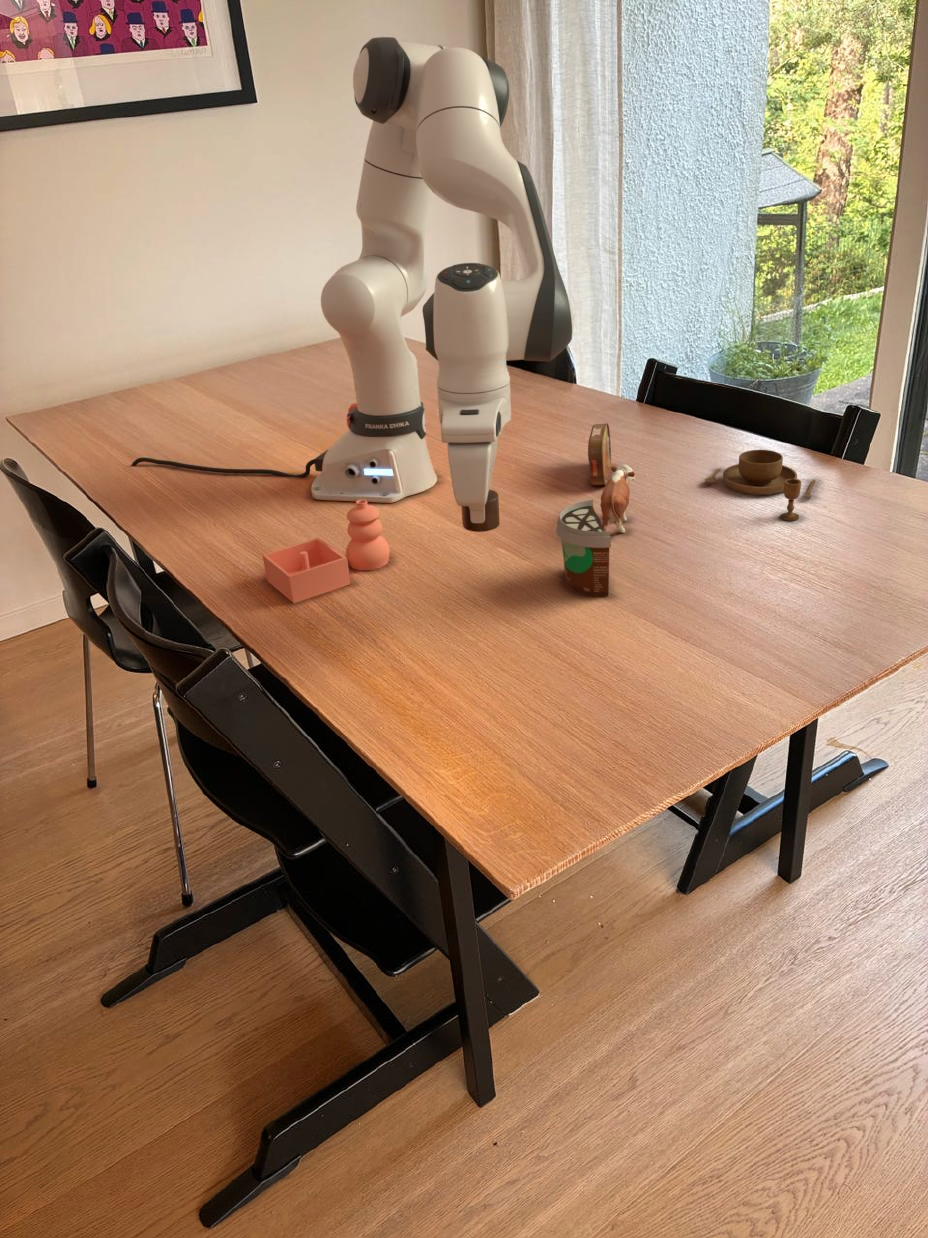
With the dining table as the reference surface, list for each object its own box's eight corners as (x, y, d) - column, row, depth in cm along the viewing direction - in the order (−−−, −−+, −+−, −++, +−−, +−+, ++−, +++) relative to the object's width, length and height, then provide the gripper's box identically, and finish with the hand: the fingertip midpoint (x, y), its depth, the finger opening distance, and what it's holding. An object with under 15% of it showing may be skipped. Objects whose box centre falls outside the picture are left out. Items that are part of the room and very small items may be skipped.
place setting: (820, 476, 168) (823, 442, 165) (801, 522, 152) (804, 486, 149) (715, 467, 175) (717, 435, 172) (687, 510, 159) (688, 475, 156)
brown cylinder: (460, 532, 127) (458, 503, 125) (464, 517, 132) (462, 488, 130) (498, 531, 127) (496, 502, 125) (501, 516, 131) (499, 488, 129)
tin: (605, 492, 168) (605, 444, 164) (586, 492, 169) (586, 444, 165) (612, 461, 181) (612, 416, 177) (594, 461, 182) (594, 416, 178)
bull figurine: (638, 508, 161) (639, 460, 157) (622, 543, 150) (622, 492, 146) (611, 507, 163) (611, 459, 159) (593, 540, 152) (593, 490, 148)
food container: (551, 566, 145) (548, 502, 140) (592, 562, 145) (592, 498, 140) (565, 605, 134) (563, 537, 129) (610, 600, 134) (610, 532, 130)
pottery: (293, 603, 141) (282, 539, 136) (267, 580, 148) (255, 519, 143) (403, 566, 149) (397, 504, 144) (373, 546, 156) (366, 487, 151)
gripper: (458, 382, 131) (464, 481, 138) (438, 434, 113) (446, 544, 120) (506, 381, 130) (510, 481, 137) (494, 432, 112) (499, 544, 119)
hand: (480, 511), depth 128 cm, fingers closed on brown cylinder, 5 cm apart
